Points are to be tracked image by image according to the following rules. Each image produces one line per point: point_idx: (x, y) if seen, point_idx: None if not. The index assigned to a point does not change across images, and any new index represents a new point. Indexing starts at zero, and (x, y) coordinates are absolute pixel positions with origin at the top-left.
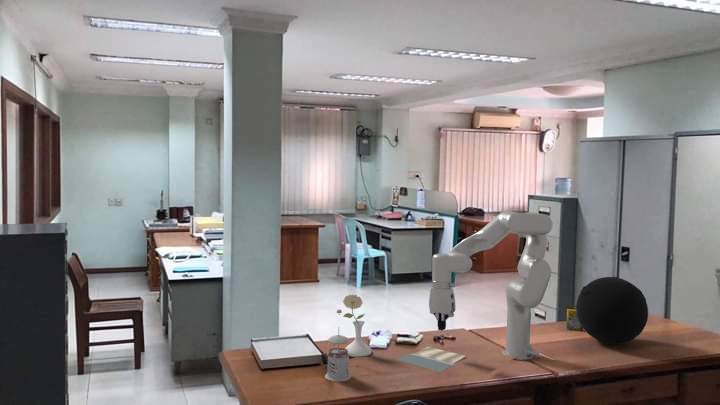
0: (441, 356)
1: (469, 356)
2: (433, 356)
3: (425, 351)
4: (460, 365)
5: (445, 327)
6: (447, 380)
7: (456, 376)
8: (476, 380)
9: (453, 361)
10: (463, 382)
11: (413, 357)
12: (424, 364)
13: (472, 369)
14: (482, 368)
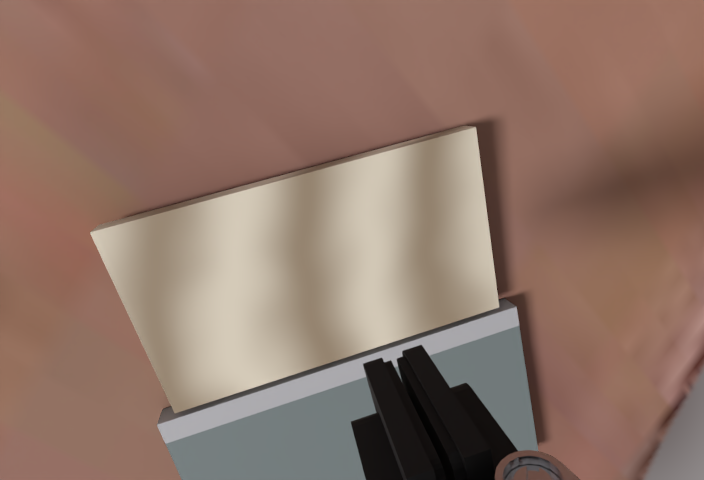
0: (357, 286)
1: (410, 9)
2: (317, 333)
3: (191, 321)
4: (499, 231)
5: (466, 391)
6: (596, 451)
7: (594, 378)
8: (693, 324)
9: (479, 278)
10: (662, 399)
11: (248, 461)
12: None
13: (590, 218)
14: (622, 145)
